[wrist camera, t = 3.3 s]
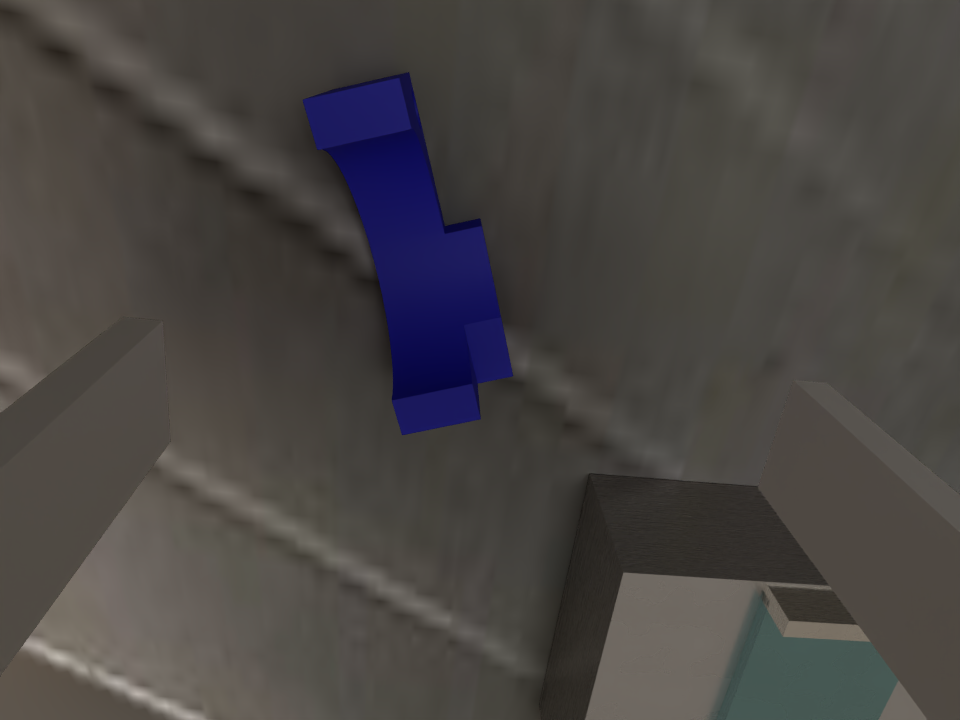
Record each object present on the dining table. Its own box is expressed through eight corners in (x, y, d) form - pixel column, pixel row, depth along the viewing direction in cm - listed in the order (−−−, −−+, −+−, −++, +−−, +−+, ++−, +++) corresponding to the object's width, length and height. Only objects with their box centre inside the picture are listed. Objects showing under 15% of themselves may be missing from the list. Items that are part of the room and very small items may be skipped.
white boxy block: (539, 704, 40) (563, 872, 32) (589, 473, 34) (636, 609, 25) (846, 718, 42) (943, 881, 34) (949, 501, 35) (1102, 637, 27)
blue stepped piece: (507, 347, 31) (520, 411, 25) (410, 367, 31) (402, 435, 26) (447, 63, 26) (447, 66, 20) (332, 89, 26) (302, 100, 21)
